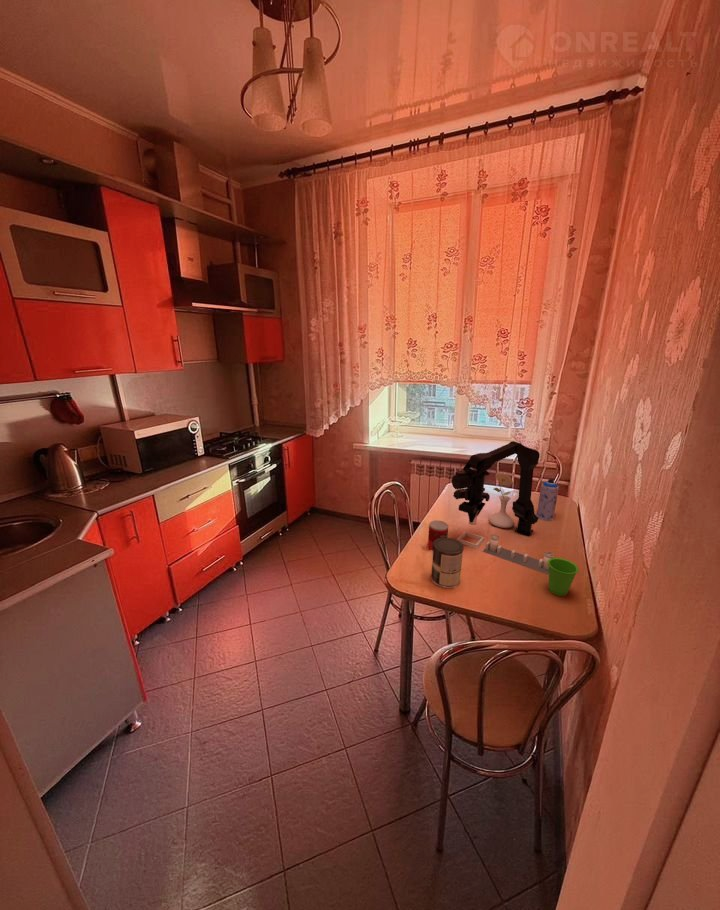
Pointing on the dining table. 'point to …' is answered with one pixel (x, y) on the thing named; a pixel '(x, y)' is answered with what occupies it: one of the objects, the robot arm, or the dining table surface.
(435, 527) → the canned food
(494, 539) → the cylinder
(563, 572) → the cup
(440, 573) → the coffee can
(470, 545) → the tray
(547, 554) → the cylinder
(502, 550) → the fuse block
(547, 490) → the aerosol can
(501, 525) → the flower in vase
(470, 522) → the cylinder
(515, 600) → the dining table surface
